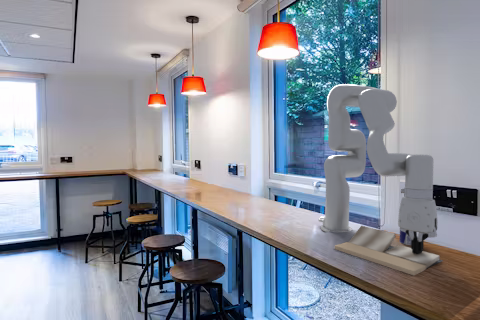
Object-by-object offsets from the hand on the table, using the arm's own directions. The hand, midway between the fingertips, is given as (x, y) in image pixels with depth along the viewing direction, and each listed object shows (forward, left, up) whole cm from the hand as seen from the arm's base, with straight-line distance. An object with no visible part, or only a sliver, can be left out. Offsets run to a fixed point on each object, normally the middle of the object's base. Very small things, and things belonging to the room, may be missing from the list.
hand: (417, 252), depth 100 cm
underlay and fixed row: (-7, -6, -3) cm, 10 cm away
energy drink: (-9, +13, -3) cm, 17 cm away
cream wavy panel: (-1, -2, -1) cm, 2 cm away
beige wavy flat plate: (-14, -2, +1) cm, 14 cm away
